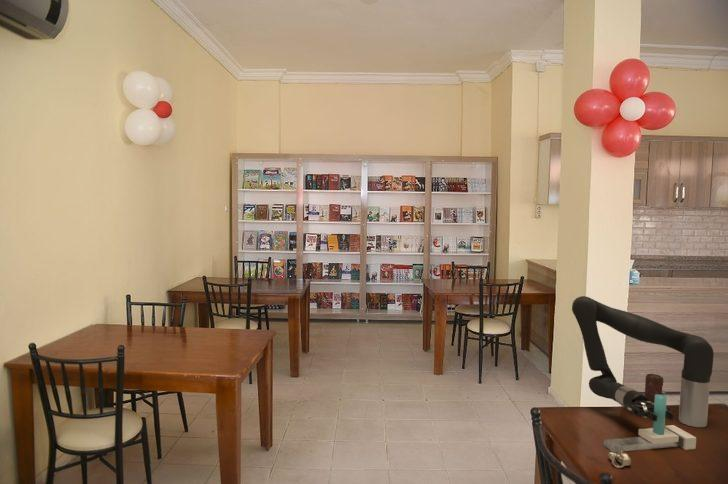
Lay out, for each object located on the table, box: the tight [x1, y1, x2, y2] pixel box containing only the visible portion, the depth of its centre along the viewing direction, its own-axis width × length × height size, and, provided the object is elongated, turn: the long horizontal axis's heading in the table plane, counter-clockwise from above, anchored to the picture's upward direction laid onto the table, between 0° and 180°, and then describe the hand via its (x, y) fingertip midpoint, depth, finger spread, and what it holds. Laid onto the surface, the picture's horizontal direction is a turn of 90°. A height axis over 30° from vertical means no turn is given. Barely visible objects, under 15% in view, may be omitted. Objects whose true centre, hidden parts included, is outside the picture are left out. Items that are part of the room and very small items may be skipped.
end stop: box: [665, 424, 697, 451], centre depth 181 cm, size 5×10×4 cm, turn 11°
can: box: [644, 373, 664, 403], centre depth 210 cm, size 6×6×14 cm
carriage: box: [637, 394, 679, 444], centre depth 179 cm, size 10×7×15 cm
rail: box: [603, 436, 679, 453], centre depth 178 cm, size 25×5×2 cm, turn 101°
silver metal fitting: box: [608, 450, 632, 469], centre depth 166 cm, size 8×7×4 cm
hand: (665, 418), depth 176 cm, fingers open, 6 cm apart
